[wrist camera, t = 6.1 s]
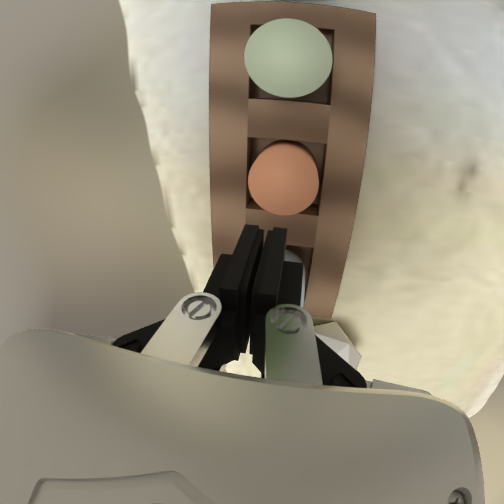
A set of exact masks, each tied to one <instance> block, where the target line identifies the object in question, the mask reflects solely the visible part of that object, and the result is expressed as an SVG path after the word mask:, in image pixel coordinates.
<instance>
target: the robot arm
mask: <svg viewBox="0 0 504 504" xmlns="http://www.w3.org/2000/svg"><path fill="white" fill-rule="evenodd" d="M287 229H288V228H279V227H274V228H273V230H268V232H267V236H266V239H265V243H264V229H259V225H250V224H245V225H244V228H243V230H242V233H241V235H240V237H239V240H238V242H237V245H236V247H235V249H234V252H233V254H232V255H231V254H223V253H222V254H221V255H220V256H219V259H218V261H217V263H216V265H215V267H214V269H213V272H212V274H211V276H210V278H209V280H208V282H207V285H206V287H205V289H204V291H203V292H197V293H192V294H189V295H187V296H185V297H183V298H182V299H181V300H180V301H179V302H178V304H177V305H176V306H175V308H174V309H173V310H172V312H171V313H170V314H169V315H168V317H167V318H166V319H164V320H162V321H159V322H157V323H154V324H152V325H149V326H146V327H144V328H141V329H139V330H136V331H134V332H131V333H129V334H126V335H123V336H122V337H120V338H118V339H117V340H113V338H112V337H102V336H90V335H78V334H71V333H68V332H63V331H59V330H54V329H44V328H34V329H26V330H21V331H18V332H16V333H14V334H13V335H12V336H11V337H9V338H8V339H7V340H6V341H5V342H4V343H3V344H2V346H1V347H0V504H485V499H484V480H483V471H482V464H481V458H480V452H479V447H478V443H477V439H476V436H475V433H474V429H473V427H472V424H471V422H470V420H469V418H468V417H467V415H466V414H465V413H464V411H463V410H461V409H460V408H459V407H458V406H456V405H454V404H453V403H451V402H448V401H446V400H444V399H441V398H438V397H435V396H433V395H431V394H430V393H429V392H427V391H424V390H421V389H416V388H411V387H406V386H402V385H397V384H393V383H388V382H384V381H380V380H376V379H373V381H372V382H370V381H366V380H365V379H364V377H363V376H362V375H361V374H360V373H359V372H358V371H357V370H355V369H354V368H353V367H352V366H351V365H350V364H348V363H347V362H346V361H345V360H344V359H343V358H342V357H340V356H339V355H338V354H337V353H336V352H335V351H333V350H332V349H331V348H330V347H329V346H328V345H326V344H325V343H324V342H323V341H322V340H321V339H320V338H318V337H317V336H316V335H315V332H314V326H313V320H312V317H311V315H310V314H309V313H308V311H307V310H305V309H304V308H302V307H301V293H302V277H303V263H300V262H291V261H284V260H285V250H286V240H287ZM263 245H264V247H263ZM249 337H250V354H253V359H252V363H253V364H254V365H255V366H256V367H257V368H258V369H259V371H260V372H261V378H257V377H251V376H244V375H238V374H232V373H227V372H224V371H225V367H226V365H225V364H227V363H229V362H231V361H233V360H237V361H238V359H239V356H240V353H246V349H247V345H248V341H249Z"/></svg>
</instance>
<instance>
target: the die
mask: <svg viewBox="0 0 504 504" xmlns="http://www.w3.org/2000/svg"><path fill="white" fill-rule="evenodd" d="M314 332H315V335H316V336H317V337H318V338H320V339H321V340H322V341H323V342H324V343H325V344H326V345H328V346H329V347H330V348H331V349H332V350H333V351H335V352H336V353H337V354H338V355H339V356H340V357H342V358H343V359H344V360H345V361H346V362H347V363H348V364H350V365H351V366H352V367H353V368H354V369H355V370H356V369H357V367H358V364H359V362H360V359H361V355H360V353H359V352H358V351H357V349H356V348H355V346H354V345H353V344H352V342H351V341H350V340H349V338H348V337H347V335H346V334H345V333H344V331H343V330H342V329H341V327H340V326H339V325H338V323H337V322H331V323H327V324H322V325H317V326H314Z"/></svg>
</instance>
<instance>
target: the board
mask: <svg viewBox="0 0 504 504" xmlns="http://www.w3.org/2000/svg"><path fill="white" fill-rule="evenodd" d="M284 18H290V19H297V20H301V21H304V22H307V23H308V24H310V25H312V26H314V27H315V28H317V29H318V30H319V31H320V32H321V33H322V34H323V35H324V36H325V38H326V39H327V41H328V43H329V45H330V48H331V51H332V59H333V62H332V68H331V72H330V74H329V76H328V78H327V79H326V81H325V82H324V83H323V84H322V85H321V86H320V87H319V88H318V89H316V90H315V91H313V92H311V93H309V94H307V95H304V96H300V97H293V98H286V97H280V96H276V95H273V94H270V93H268V92H266V91H264V90H263V89H261V88H260V87H259V86H258V85H257V84H256V83H255V82H254V81H253V80H252V79H251V77H250V76H249V74H248V72H247V69H246V66H245V62H244V52H245V47H246V44H247V42H248V40H249V38H250V36H251V35H252V34H253V33H254V32H255V31H256V30H257V29H258V28H259V27H260V26H262V25H264V24H265V23H267V22H270V21H273V20H277V19H284ZM375 39H376V13H371V12H366V11H361V10H355V9H349V8H343V7H336V6H328V5H319V4H309V3H295V2H231V3H217V4H211V22H210V60H209V154H210V196H211V224H212V247H213V266H214V267H215V265H216V263H217V261H218V259H219V256H220V255H221V254H222V253H223V254H231V255H232V254H233V252H234V249H235V247H236V245H237V242H238V240H239V237H240V235H241V233H242V230H243V228H244V225H245V224H250V225H259V229H264V243H265V239H266V236H267V232H268V230H273V228H274V227H279V228H288V229H287V240H286V250H289V251H291V252H293V253H294V254H296V255H297V256H298V257H299V258H300V259H301V261H302V262H303V264H304V267H305V293H304V305H303V308H304V309H305V310H307V311H308V313H309V314H310V315H311V316H313V317H322V318H331V317H332V314H333V310H334V306H335V302H336V299H337V295H338V291H339V287H340V283H341V279H342V274H343V270H344V266H345V262H346V257H347V253H348V248H349V244H350V239H351V234H352V229H353V224H354V219H355V214H356V209H357V203H358V198H359V192H360V186H361V180H362V174H363V167H364V160H365V153H366V146H367V138H368V130H369V121H370V112H371V102H372V91H373V78H374V62H375ZM282 139H284V140H295V141H298V142H300V143H302V144H303V145H305V146H306V147H307V148H308V149H309V150H310V151H311V152H312V154H313V155H314V157H315V160H316V163H317V170H318V178H319V188H318V192H317V195H316V197H315V199H314V201H313V202H312V203H311V205H310V206H309V207H307V208H306V209H305V210H303V211H301V212H299V213H297V214H293V215H286V216H285V215H276V214H273V213H270V212H268V211H266V210H264V209H263V208H262V207H260V206H259V205H258V204H257V203H256V202H255V200H254V199H253V197H252V195H251V193H250V190H249V186H248V176H249V172H250V169H251V167H252V165H253V163H254V162H255V160H256V159H257V157H258V156H259V154H260V153H261V151H262V150H263V149H264V148H265V147H266V146H267V145H268V144H270V143H272V142H274V141H277V140H282ZM263 247H264V245H263Z"/></svg>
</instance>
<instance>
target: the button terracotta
mask: <svg viewBox="0 0 504 504" xmlns="http://www.w3.org/2000/svg"><path fill="white" fill-rule="evenodd" d="M248 186H249V190H250V193H251V195H252V197H253V199H254V200H255V202H256V203H257V204H258V205H259V206H260V207H262V208H263V209H264V210H266V211H268V212H270V213H273V214H276V215H285V216H286V215H293V214H297V213H299V212H301V211H303V210H305V209H306V208H307V207H309V206H310V205H311V203H312V202H313V201H314V199H315V197H316V195H317V192H318V188H319V178H318V170H317V163H316V160H315V157H314V155H313V154H312V152H311V151H310V150H309V149H308V148H307V147H306V146H305V145H303V144H302V143H300V142H298V141H295V140H284V139H282V140H277V141H274V142H272V143H270V144H268V145H267V146H266V147H265V148H264V149H263V150H262V151H261V153H260V154H259V156H258V157H257V159H256V160H255V162H254V163H253V165H252V167H251V169H250V172H249V176H248Z"/></svg>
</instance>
